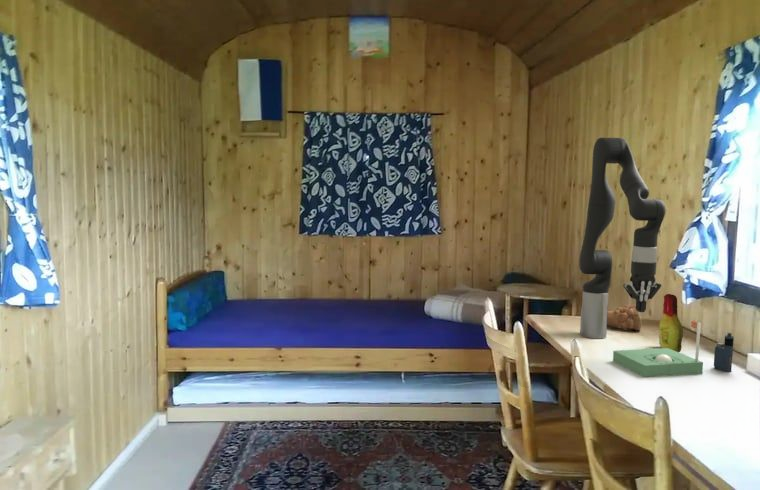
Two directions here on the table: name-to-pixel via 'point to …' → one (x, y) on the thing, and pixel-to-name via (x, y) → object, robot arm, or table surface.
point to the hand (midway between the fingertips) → (640, 311)
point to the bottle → (670, 325)
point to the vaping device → (724, 354)
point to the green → (649, 367)
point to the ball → (663, 358)
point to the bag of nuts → (625, 318)
